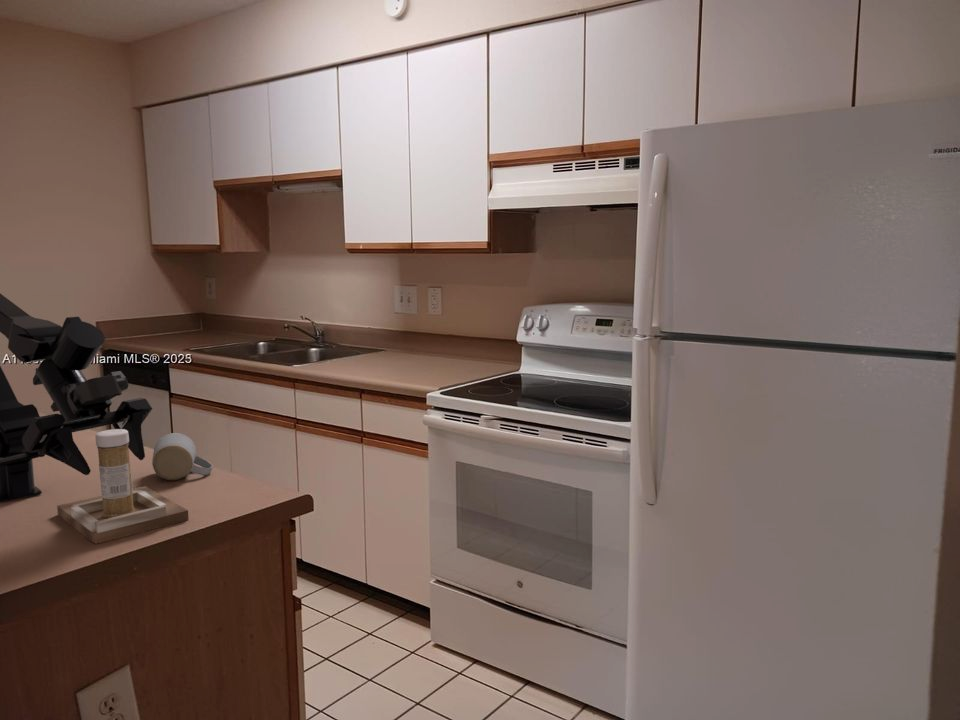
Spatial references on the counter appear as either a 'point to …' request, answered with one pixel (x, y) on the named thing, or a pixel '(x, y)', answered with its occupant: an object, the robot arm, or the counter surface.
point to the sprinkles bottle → (115, 472)
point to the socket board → (122, 516)
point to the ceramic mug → (177, 458)
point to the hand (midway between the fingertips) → (116, 465)
